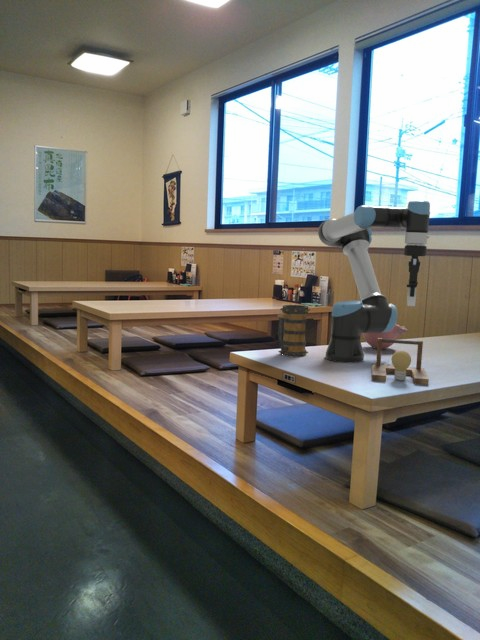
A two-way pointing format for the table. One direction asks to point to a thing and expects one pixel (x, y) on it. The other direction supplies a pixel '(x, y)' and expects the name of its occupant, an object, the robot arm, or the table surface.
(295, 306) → the mug
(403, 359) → the light bulb
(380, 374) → the wooden rack frame
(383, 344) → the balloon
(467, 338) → the table surface
